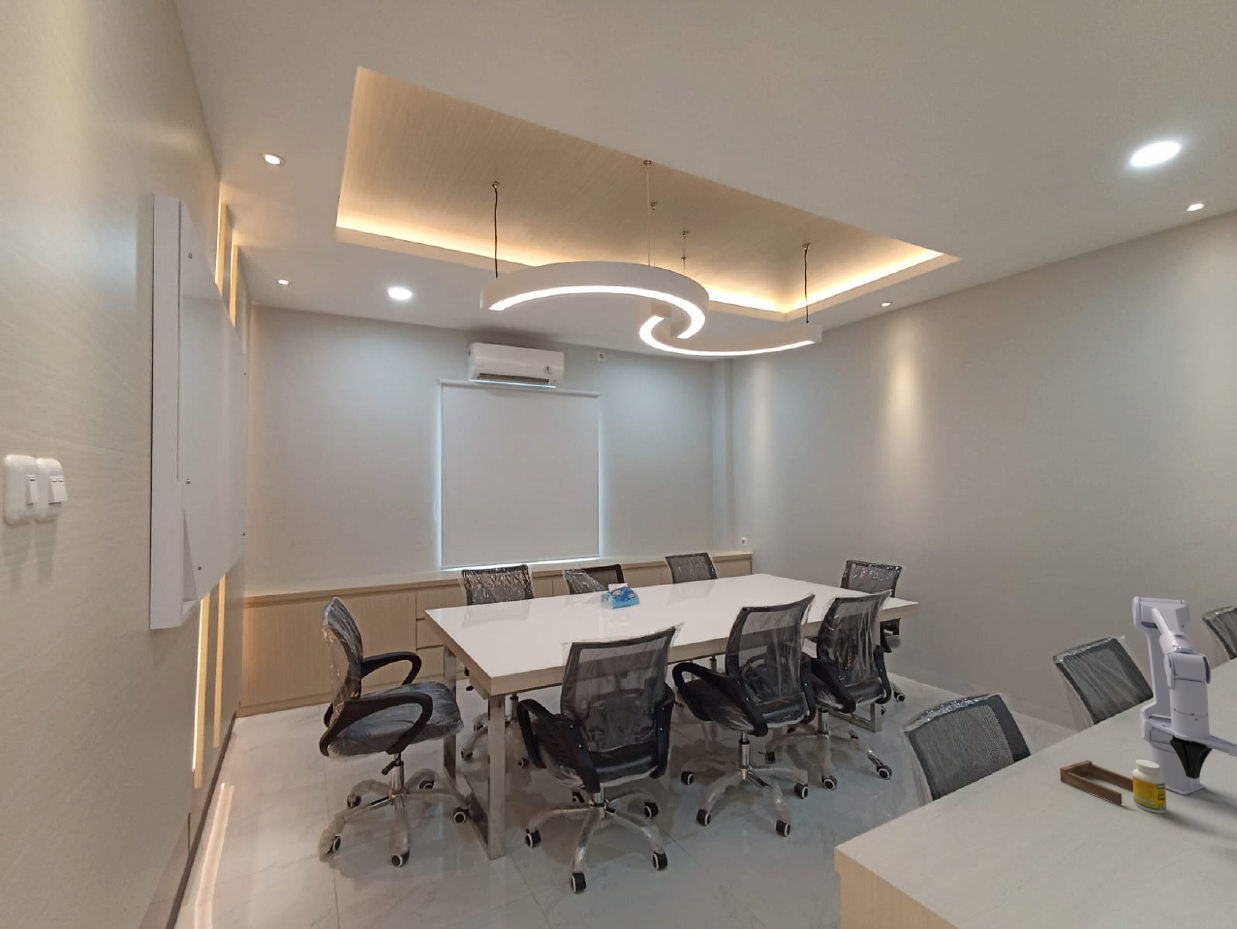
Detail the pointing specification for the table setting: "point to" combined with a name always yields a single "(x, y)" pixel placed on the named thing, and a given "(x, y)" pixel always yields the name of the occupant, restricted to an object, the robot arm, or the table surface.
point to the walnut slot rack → (1085, 768)
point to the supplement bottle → (1149, 787)
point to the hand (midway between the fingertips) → (1192, 776)
